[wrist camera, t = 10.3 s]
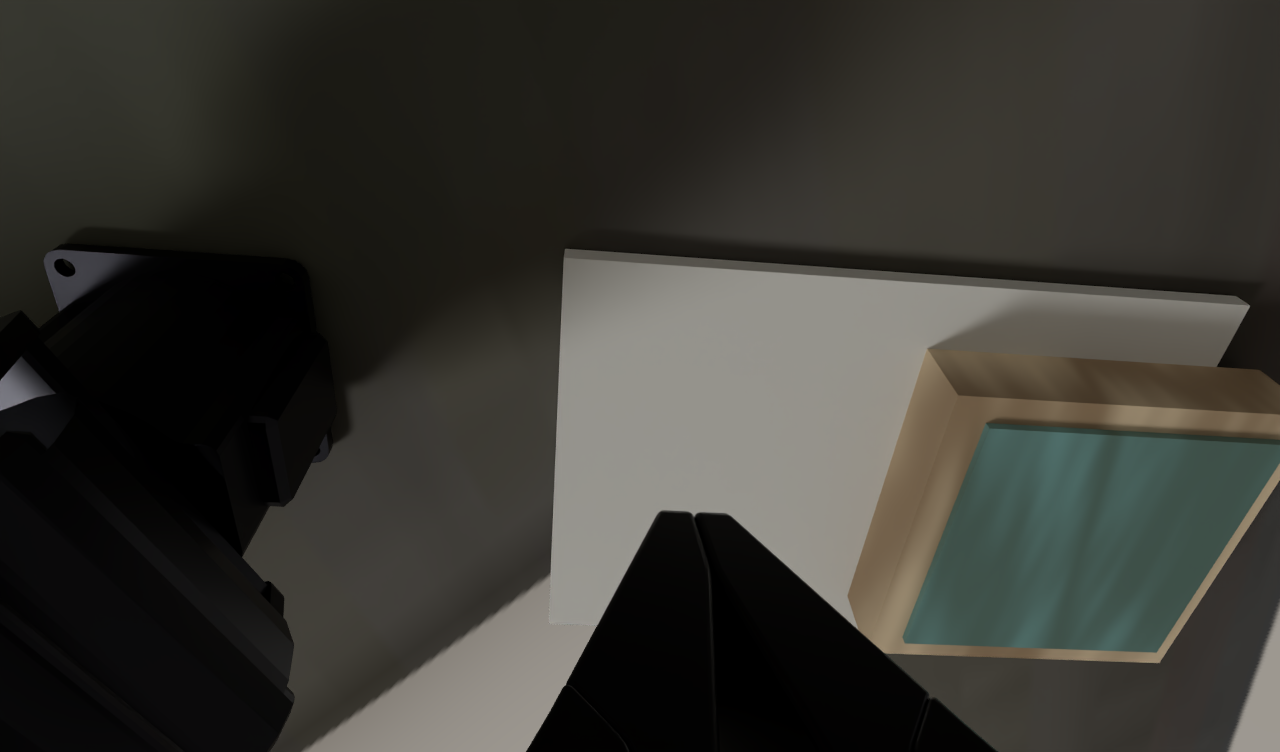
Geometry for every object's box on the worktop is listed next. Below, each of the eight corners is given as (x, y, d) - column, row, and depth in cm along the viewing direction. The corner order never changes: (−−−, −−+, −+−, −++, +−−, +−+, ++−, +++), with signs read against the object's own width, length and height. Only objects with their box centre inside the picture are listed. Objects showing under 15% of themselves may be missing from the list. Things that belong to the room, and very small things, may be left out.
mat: (549, 610, 29) (548, 623, 28) (564, 248, 21) (563, 257, 21) (1056, 629, 30) (1063, 642, 30) (1236, 296, 23) (1250, 305, 22)
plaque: (867, 659, 26) (1163, 669, 26) (961, 401, 20) (1328, 422, 21) (847, 595, 28) (1120, 606, 29) (927, 348, 23) (1259, 369, 23)
